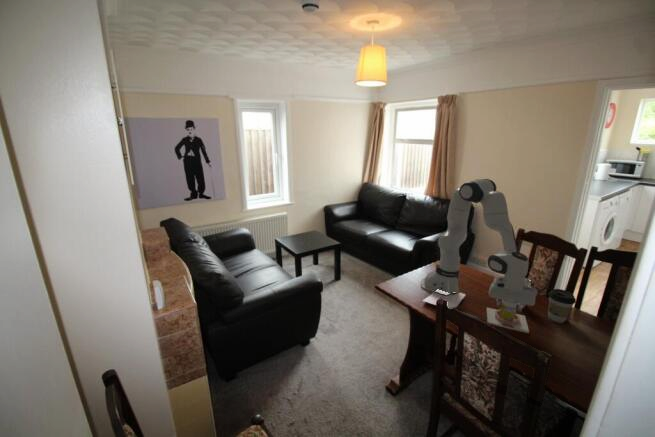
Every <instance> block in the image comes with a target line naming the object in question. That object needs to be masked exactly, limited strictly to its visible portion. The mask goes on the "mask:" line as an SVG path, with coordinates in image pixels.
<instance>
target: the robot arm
mask: <svg viewBox="0 0 655 437" xmlns="http://www.w3.org/2000/svg"><path fill="white" fill-rule="evenodd" d="M473 203H474V204H479V203H480V204H481V206H482V213H483V214H482V215H483V220H484V221H483V222H484V224H485V226H486V227H487V228H488V229H490V230H493V231H496V232H498V233H499V234H500V236H501V242H502V245H503V250H502V251H501V252H497V253H494V254H491V255H489V257H488V258H487V266H488V268H489V269H490V270H491V271H492V272H494V273H497V274H500V275H504V276H500V277H499V276H498V277H494V278H493V282H491V284H490V287H489V288H488V297H490V298H491V299H495V301H496V302H495V303H496V307H501V304H502V302H501V301H499V300H506V301H508V298H509V299H514V302H516V303H521V304H522V305H521V306H518V305H517V311H519V312H522V310H523V309H524V308H525V307H526V306H529V307H530V306H532V307H533V306H535V304H536V297H537V295H538V292H539V291H538V289H536V288H535V287H533V286H530V287H527V286H524V285H525V278H526V276H527V274H528V270H529V264H530V263H529V262H530V261H529V258H528V257H527V255H525V254H524V253H521V252H520V251H519V249H518V246H517V245H518V244H517V239H516V235H515V231H514V226H513V225H512V223H511V221H510V218H509V210H508V209H509V208H508V204H507V201H506V196H505V195H504V193H502V192H501V191H497V184H496V182H494V181H493V180H491V179H489V178H488V179H487V178H482V179H481V178H480V179H474V180H469V181H466V182H463V184H461V186H460V187H459V188H456V189H454V192H453V193H452V196H451V199H450V202H449V204H448V205H449V206H448V212H447V215H446V220H447V229H446V231H444V232H443V233H442V234H441V235H440V236H439V238H438V240H437V246H438V247H439V249H440V250H439V251H440V252H439V253H440V259H439V263H436V264H435V270H433V271H430V272H429V273H427V274H426V276H425V277H424V278H423V279H421V282H420V287H421V288H422V289H423V290H426V291H430V292H433V293H435V292H434V291H436V290H437V289H439V290H442V291H445V292H448V293H453V292H458V293H459V291H460V289H459V278H460V265H461V264H460V262H461V256H460V246H461V245H462V244H463V243H464V242H465V241H466V239H467V236H468V221H469V220H468V219H469V217H470V216H469V215H470V212H471V211H470V210H471V207H472V204H473Z"/></svg>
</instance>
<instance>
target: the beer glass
mask: <svg viewBox="0 0 655 437" xmlns="http://www.w3.org/2000/svg"><path fill="white" fill-rule="evenodd" d="M531 283H532V280H530V278H527V277H525V285H524V286H527V287H531ZM521 305H522V304H521V303H517V307H518V306H521Z"/></svg>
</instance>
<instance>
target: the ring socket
mask: <svg viewBox="0 0 655 437" xmlns="http://www.w3.org/2000/svg"><path fill="white" fill-rule="evenodd" d="M500 310H501V308H499V309H495V308H491V307H486V320H487V321H486V322H487V323H489V324H488V325H491V324H492V326H496V327H501V328H505V329H509V330H512V331H517V332H520V333H521V332H522V333H526V334H530V330H529V326H528V322H527V319H526V316H525V315H523V314H518V313H516V312H515V317H514V321H508V320H505V319H503V318H501V317H500V316H499V315H500Z"/></svg>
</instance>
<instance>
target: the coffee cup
mask: <svg viewBox="0 0 655 437" xmlns="http://www.w3.org/2000/svg"><path fill="white" fill-rule="evenodd" d="M548 297H549V298H548V309H547V316H548V318H549V320H551V321H553V322H556V323H561V324H563V323H564V322H565V321H566V320H567V319H568V316H569V315H570V312H571V310H572V308H573V306H574V305H575V304H576V302H577V301H576V300H577V299H576V297H575V295H574V294H573V293H572V292H570V291H568V290H565V289H560V288H554V289H551V290H550V291H549V292H548Z"/></svg>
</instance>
